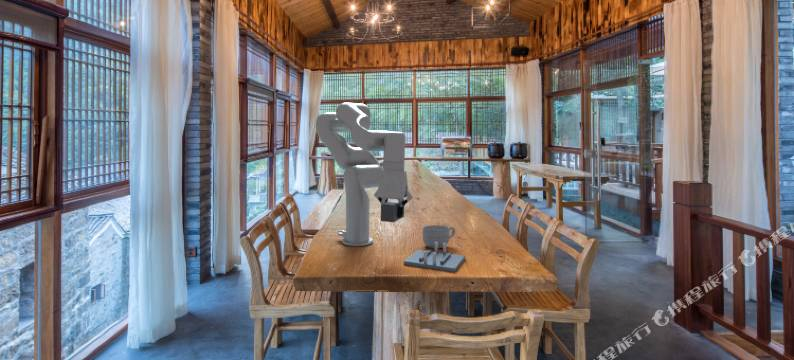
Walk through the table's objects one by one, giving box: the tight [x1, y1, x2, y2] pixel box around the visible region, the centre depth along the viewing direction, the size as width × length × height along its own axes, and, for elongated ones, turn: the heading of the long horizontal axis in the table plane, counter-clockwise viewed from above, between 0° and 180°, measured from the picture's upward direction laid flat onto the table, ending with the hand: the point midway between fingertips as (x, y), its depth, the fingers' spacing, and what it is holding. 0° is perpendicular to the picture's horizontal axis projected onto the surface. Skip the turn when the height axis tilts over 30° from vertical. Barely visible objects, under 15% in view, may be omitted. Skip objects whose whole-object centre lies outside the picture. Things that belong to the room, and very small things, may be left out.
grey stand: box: [403, 242, 466, 273], centre depth 145 cm, size 18×15×5 cm
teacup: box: [422, 224, 456, 249], centre depth 164 cm, size 14×11×8 cm
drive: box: [380, 199, 405, 223], centre depth 148 cm, size 5×10×6 cm, turn 158°
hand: (392, 215), depth 149 cm, fingers closed on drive, 5 cm apart
